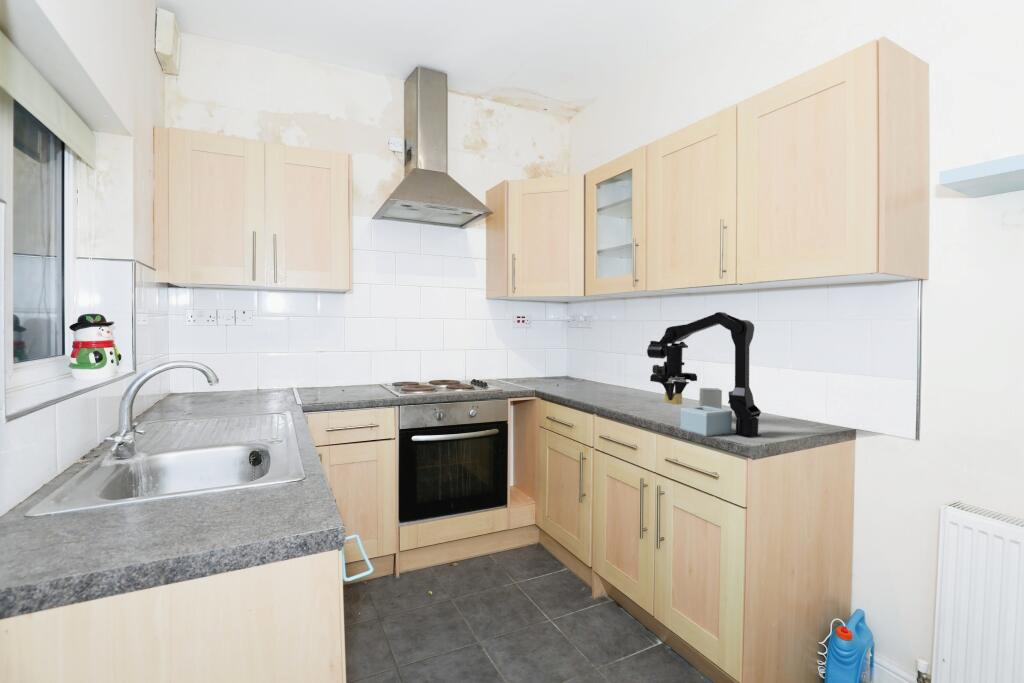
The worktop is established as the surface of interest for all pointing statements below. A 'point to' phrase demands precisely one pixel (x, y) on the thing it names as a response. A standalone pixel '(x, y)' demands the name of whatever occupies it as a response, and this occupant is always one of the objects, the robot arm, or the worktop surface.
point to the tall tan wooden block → (674, 398)
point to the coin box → (706, 420)
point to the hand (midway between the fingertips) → (673, 399)
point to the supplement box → (710, 397)
